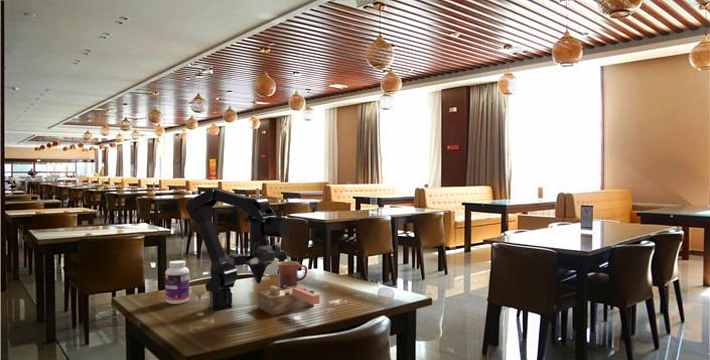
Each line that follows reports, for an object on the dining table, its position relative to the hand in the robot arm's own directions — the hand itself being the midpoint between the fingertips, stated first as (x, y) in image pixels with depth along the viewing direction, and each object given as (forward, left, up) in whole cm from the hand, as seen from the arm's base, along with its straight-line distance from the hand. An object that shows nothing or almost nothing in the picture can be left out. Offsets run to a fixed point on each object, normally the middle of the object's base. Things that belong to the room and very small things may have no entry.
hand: (258, 283), depth 159 cm
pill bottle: (-18, +30, -10) cm, 36 cm away
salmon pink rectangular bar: (+10, -13, -4) cm, 17 cm away
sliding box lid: (+10, 0, -5) cm, 12 cm away
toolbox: (+10, 0, -10) cm, 14 cm away
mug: (+24, +22, -10) cm, 34 cm away
